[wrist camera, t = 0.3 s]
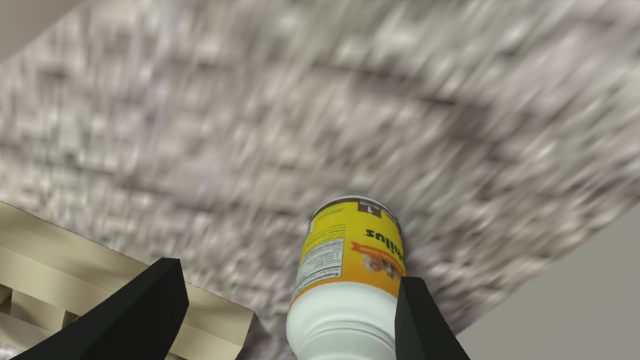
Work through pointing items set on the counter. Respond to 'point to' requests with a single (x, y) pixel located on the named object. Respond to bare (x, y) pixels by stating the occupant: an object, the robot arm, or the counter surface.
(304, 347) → the supplement bottle
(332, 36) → the counter surface
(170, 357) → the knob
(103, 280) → the knob mount
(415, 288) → the robot arm
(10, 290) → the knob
